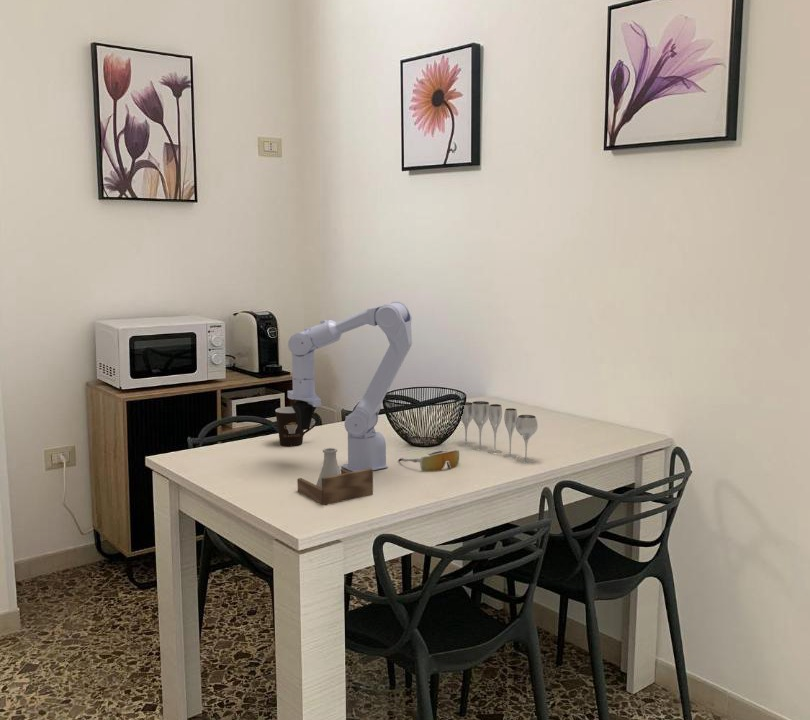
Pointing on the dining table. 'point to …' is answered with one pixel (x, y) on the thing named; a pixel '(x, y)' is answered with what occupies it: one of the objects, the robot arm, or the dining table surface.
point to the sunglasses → (437, 460)
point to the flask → (328, 465)
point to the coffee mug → (290, 427)
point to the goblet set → (483, 411)
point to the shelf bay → (339, 486)
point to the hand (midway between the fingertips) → (304, 429)
